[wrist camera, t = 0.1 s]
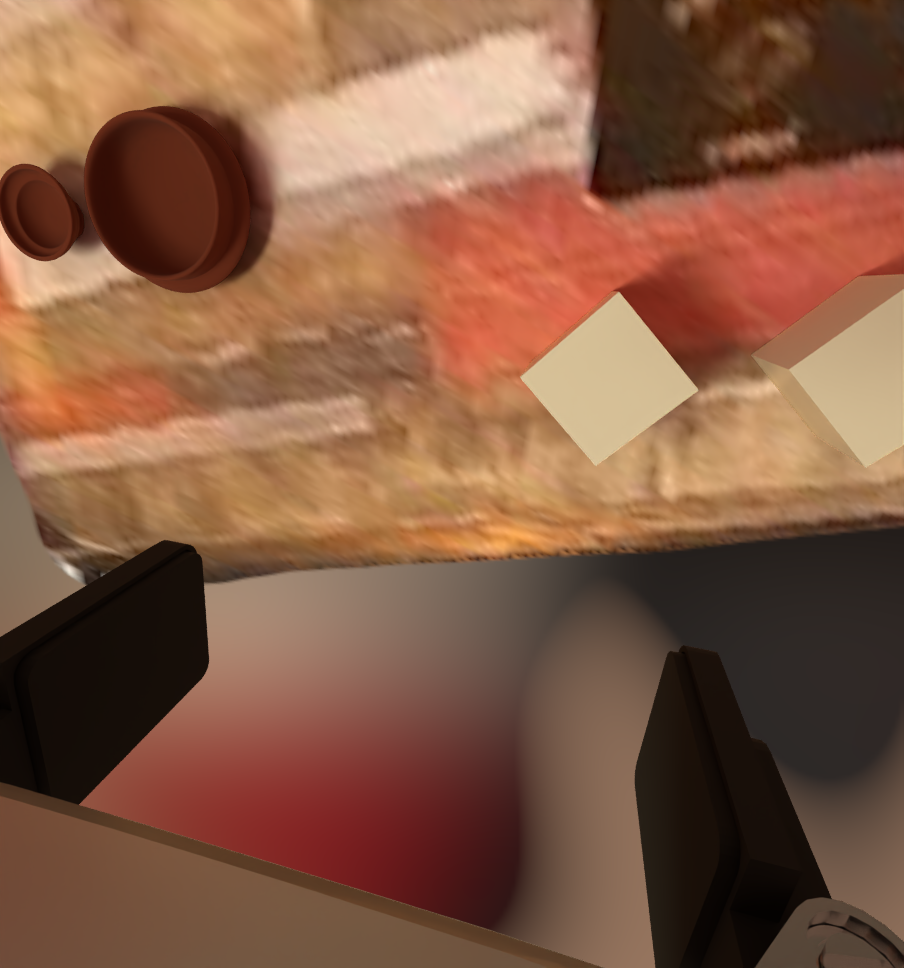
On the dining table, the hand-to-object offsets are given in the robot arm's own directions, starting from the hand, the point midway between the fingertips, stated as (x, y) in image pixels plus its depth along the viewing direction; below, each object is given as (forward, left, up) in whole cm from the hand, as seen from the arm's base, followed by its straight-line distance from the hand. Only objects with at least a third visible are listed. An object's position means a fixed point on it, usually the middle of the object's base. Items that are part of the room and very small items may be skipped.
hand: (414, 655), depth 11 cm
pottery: (+14, -29, -31) cm, 45 cm away
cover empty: (-15, +11, -31) cm, 36 cm away
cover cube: (-4, +2, -31) cm, 31 cm away
